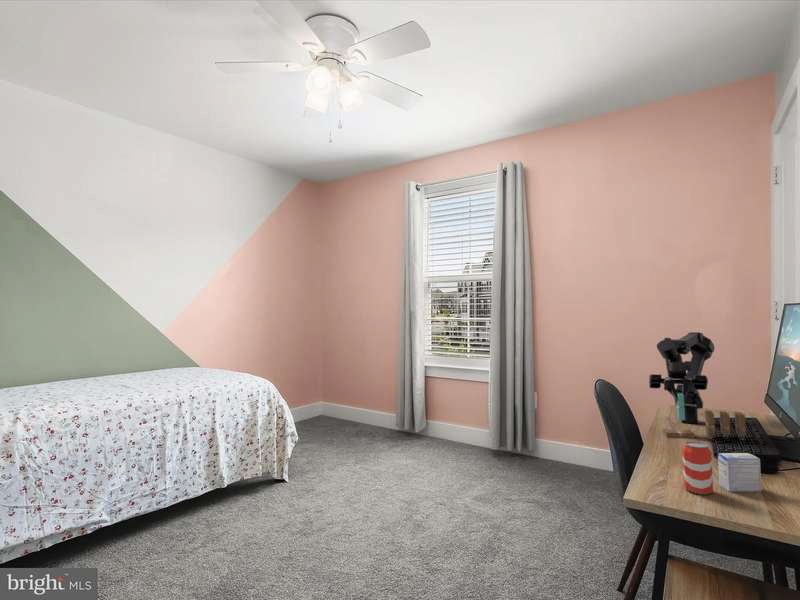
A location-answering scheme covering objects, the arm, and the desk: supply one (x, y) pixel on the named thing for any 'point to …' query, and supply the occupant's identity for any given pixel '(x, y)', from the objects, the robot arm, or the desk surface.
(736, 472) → the medicine box
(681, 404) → the end domino
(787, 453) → the desk surface
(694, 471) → the beverage can
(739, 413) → the domino
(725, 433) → the domino
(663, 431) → the domino
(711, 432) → the domino
